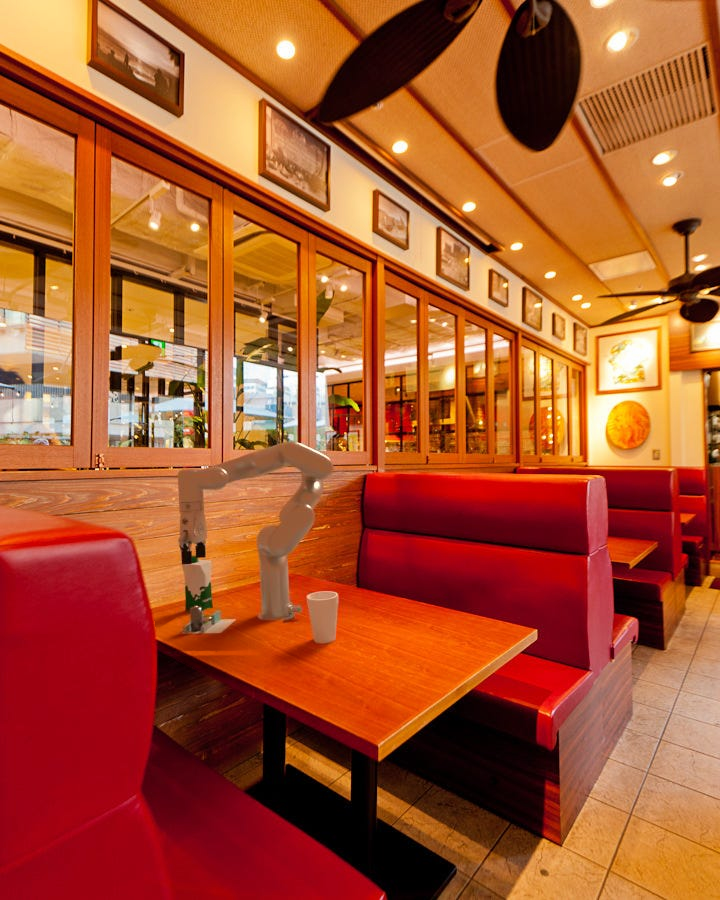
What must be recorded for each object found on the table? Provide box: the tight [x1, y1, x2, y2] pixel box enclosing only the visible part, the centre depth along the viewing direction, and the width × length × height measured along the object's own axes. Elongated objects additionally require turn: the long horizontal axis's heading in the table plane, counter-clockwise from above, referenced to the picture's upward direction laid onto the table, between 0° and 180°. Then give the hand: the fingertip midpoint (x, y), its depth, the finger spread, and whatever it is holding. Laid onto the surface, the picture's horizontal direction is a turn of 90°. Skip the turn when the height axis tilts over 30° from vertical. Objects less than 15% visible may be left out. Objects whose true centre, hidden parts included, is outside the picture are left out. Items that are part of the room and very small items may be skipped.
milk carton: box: [181, 555, 214, 612], centre depth 183 cm, size 9×9×20 cm
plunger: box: [202, 614, 212, 622], centre depth 166 cm, size 4×4×1 cm
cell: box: [189, 606, 203, 632], centre depth 158 cm, size 4×4×8 cm
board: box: [180, 610, 236, 635], centre depth 161 cm, size 13×13×4 cm
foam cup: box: [306, 590, 339, 644], centre depth 147 cm, size 10×9×13 cm
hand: (194, 560), depth 158 cm, fingers open, 9 cm apart
